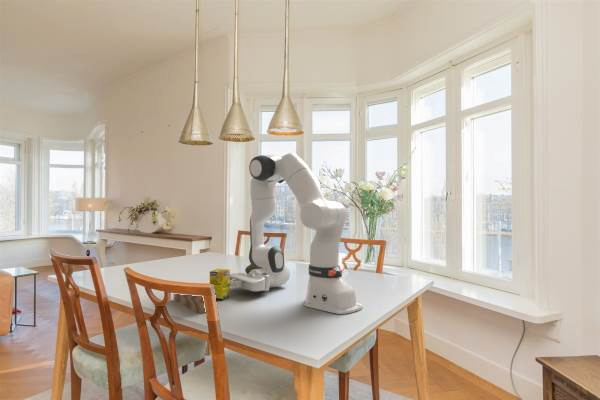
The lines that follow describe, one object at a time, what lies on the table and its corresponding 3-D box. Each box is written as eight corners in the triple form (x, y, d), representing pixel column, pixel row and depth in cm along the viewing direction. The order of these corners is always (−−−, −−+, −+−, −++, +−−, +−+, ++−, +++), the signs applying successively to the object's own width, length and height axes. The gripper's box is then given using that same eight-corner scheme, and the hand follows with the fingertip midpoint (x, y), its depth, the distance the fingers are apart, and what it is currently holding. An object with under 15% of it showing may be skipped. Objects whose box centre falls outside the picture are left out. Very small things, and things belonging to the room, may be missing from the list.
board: (208, 312, 118) (208, 294, 118) (200, 313, 116) (200, 296, 116) (181, 298, 134) (181, 282, 134) (173, 299, 132) (174, 283, 132)
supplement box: (222, 300, 132) (223, 272, 132) (208, 299, 133) (209, 271, 133) (229, 296, 138) (230, 269, 138) (215, 295, 139) (216, 268, 139)
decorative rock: (251, 275, 185) (251, 256, 187) (280, 275, 182) (279, 256, 183) (241, 278, 171) (241, 258, 172) (272, 278, 168) (271, 257, 169)
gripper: (243, 268, 155) (216, 271, 146) (271, 276, 140) (242, 280, 131) (243, 282, 155) (215, 286, 146) (271, 291, 140) (241, 297, 131)
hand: (228, 284), depth 138 cm, fingers closed
